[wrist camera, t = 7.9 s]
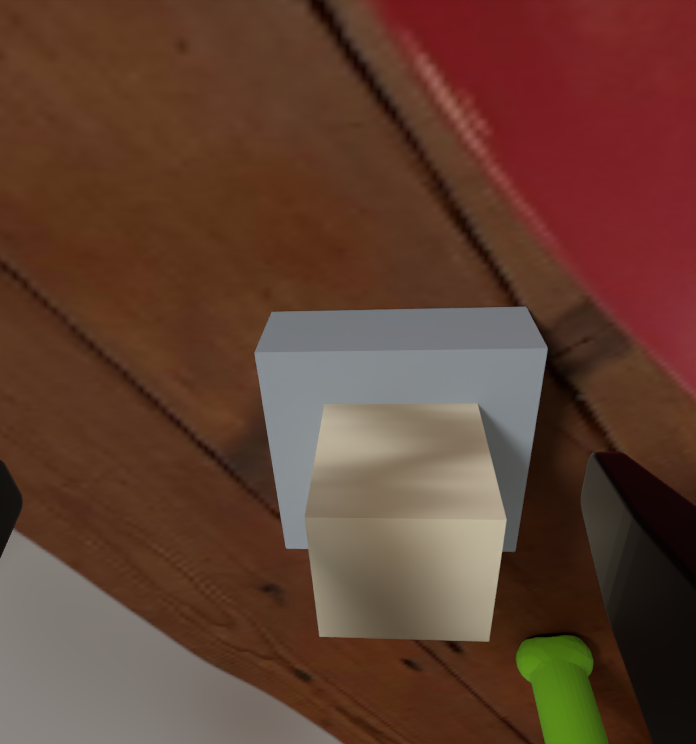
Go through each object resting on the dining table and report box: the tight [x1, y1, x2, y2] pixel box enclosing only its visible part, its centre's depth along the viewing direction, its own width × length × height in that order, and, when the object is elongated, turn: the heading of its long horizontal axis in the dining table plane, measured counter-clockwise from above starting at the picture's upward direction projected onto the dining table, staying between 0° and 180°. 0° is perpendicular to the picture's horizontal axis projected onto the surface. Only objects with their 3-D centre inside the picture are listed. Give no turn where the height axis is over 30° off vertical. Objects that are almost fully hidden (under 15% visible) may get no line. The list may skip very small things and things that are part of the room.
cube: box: [305, 404, 507, 642], centre depth 17 cm, size 5×5×5 cm
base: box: [255, 307, 548, 552], centre depth 20 cm, size 9×9×3 cm
